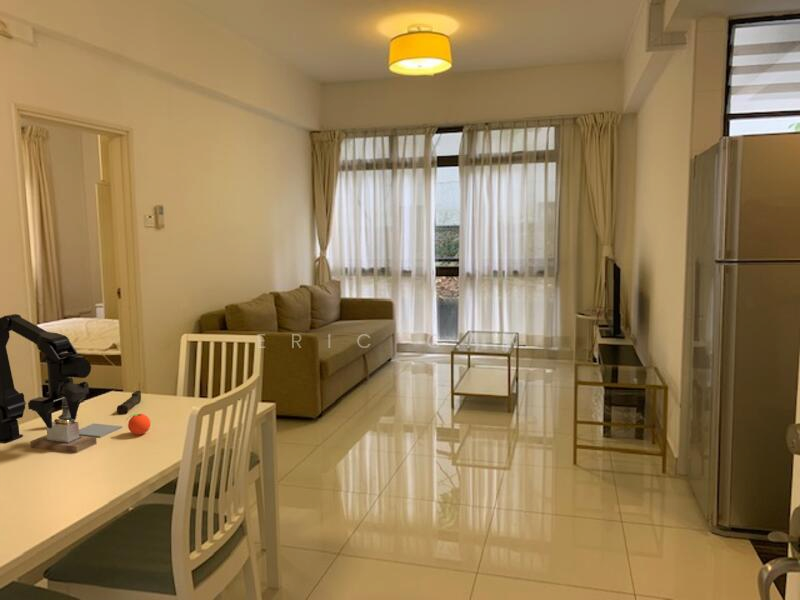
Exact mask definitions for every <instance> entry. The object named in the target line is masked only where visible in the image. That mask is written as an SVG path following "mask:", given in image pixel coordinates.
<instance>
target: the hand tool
mask: <svg viewBox="0 0 800 600" xmlns="http://www.w3.org/2000/svg"><path fill="white" fill-rule="evenodd" d="M141 401H142V392H141V390H136V391H134V392H132V393H131V397H129V398H128V399H126V400H125V401H123V403H121V404H120V405H119V404H118V405H117V407H116V413H117V414H118V415H127V414H128V413H129V411H130V410H131V409H132V408H134V407H135V406H136V405H139V404H140V403H141Z"/></svg>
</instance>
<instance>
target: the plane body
mask: <svg viewBox="0 0 800 600" xmlns="http://www.w3.org/2000/svg"><path fill="white" fill-rule="evenodd" d="M94 445H97V437H91V436H82V435H79V437H78V438H76V439H74V440H71V441H69V442H64V441H55V440H48V439H47V434H45V435H43V436H40V437H38V438H35V439H32V440H30V448H33V449H34V448H35V449H42V450H51V451H57V452H58V451H59V452H67V453H75V454H77V453H79V452H82V451H84V450H87V449H88V448H91V447H92V446H94Z"/></svg>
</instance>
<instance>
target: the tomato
mask: <svg viewBox="0 0 800 600" xmlns="http://www.w3.org/2000/svg"><path fill="white" fill-rule="evenodd" d="M128 419H129V420H128ZM127 420H128V423H127V426H128V427H127V428H128V430H129V432H130V433H132V434H133V435H136V436H137V435H139V436H140V435H144V434H145V433H147V432H148V431H149V429H150V428H151V420H150V417H148V416H147V415H145V414H143V413H135V414H132V415H130V418H129V417H127V418H126V421H127Z"/></svg>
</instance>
